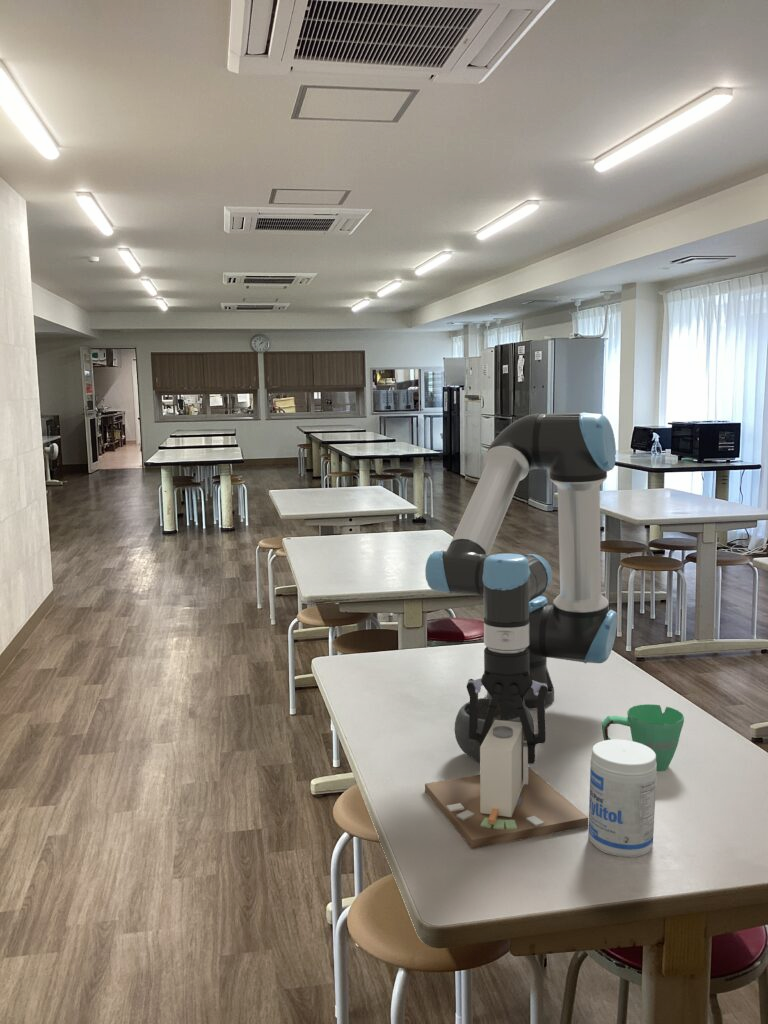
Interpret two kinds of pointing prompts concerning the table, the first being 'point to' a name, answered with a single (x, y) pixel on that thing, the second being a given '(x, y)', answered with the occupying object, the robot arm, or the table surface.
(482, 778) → the white block with knob
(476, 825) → the board
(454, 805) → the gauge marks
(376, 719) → the table surface
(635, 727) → the mug
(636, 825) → the supplement tub
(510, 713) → the bowl
